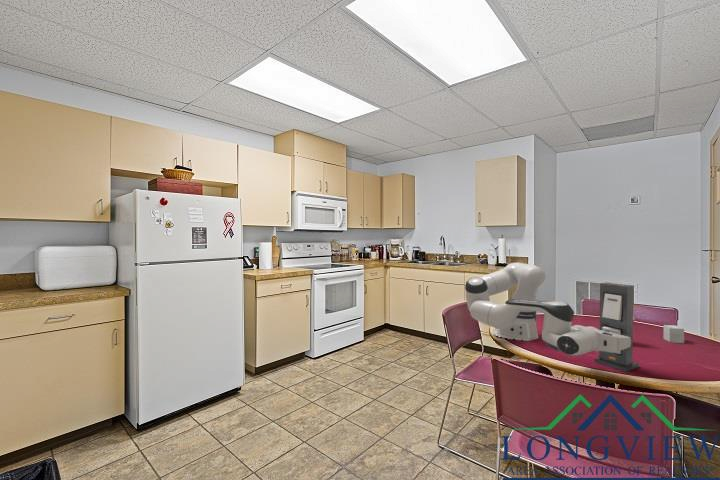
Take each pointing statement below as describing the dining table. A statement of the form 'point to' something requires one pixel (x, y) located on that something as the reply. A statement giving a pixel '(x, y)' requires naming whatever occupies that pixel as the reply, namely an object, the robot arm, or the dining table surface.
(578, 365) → the dining table surface
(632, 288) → the power strip
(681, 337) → the skincare box
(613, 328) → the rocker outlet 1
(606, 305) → the white rocker switch
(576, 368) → the dining table surface
